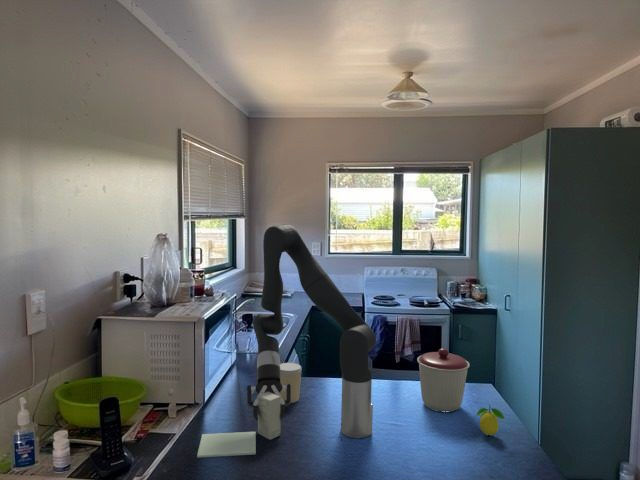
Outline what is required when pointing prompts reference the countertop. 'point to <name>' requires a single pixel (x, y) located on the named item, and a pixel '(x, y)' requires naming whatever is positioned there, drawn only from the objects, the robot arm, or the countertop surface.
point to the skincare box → (269, 415)
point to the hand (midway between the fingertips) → (269, 419)
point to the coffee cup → (291, 379)
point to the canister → (442, 379)
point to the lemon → (489, 420)
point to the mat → (227, 444)
